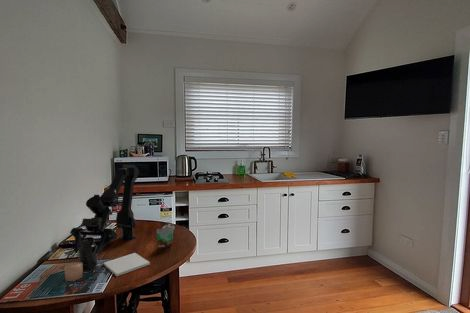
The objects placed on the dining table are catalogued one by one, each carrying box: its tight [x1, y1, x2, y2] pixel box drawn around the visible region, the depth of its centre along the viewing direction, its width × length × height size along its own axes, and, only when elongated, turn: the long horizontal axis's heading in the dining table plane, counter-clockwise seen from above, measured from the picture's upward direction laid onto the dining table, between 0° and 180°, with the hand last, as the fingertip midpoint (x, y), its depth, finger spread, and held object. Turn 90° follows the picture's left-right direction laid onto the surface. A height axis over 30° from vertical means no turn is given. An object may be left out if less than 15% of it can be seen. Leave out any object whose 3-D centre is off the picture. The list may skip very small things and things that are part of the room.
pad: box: [103, 252, 151, 277], centre depth 116 cm, size 14×14×1 cm
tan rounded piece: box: [64, 261, 84, 282], centre depth 105 cm, size 6×6×5 cm
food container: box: [156, 221, 175, 249], centre depth 137 cm, size 12×6×10 cm, turn 168°
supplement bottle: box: [78, 236, 99, 271], centre depth 114 cm, size 7×7×12 cm
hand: (85, 252), depth 112 cm, fingers open, 9 cm apart
